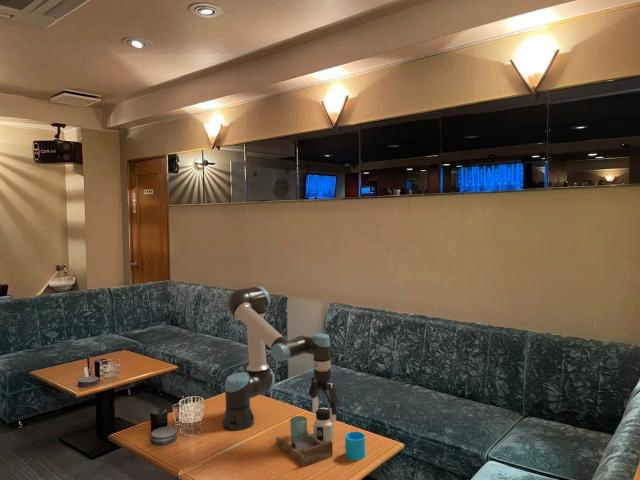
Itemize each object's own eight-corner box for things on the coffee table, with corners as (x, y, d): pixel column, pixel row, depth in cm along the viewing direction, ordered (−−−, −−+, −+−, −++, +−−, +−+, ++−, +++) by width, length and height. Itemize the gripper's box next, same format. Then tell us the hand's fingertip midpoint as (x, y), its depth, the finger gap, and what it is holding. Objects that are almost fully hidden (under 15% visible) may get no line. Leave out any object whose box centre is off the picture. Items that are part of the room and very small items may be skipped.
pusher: (294, 453, 192) (294, 434, 191) (313, 446, 197) (312, 428, 196) (296, 454, 191) (295, 435, 190) (314, 447, 196) (314, 429, 196)
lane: (276, 444, 200) (276, 430, 200) (302, 435, 208) (302, 422, 207) (305, 466, 181) (304, 451, 181) (332, 456, 189) (332, 441, 188)
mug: (364, 461, 184) (363, 441, 184) (344, 459, 186) (343, 439, 185) (367, 447, 196) (367, 428, 195) (348, 445, 197) (348, 426, 197)
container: (330, 443, 200) (330, 413, 200) (313, 441, 202) (312, 412, 201) (333, 435, 208) (333, 406, 207) (317, 433, 209) (316, 405, 209)
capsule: (288, 446, 198) (287, 418, 198) (301, 441, 202) (301, 414, 202) (296, 452, 192) (295, 424, 192) (310, 447, 196) (309, 419, 196)
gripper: (300, 364, 212) (301, 410, 212) (332, 377, 191) (333, 428, 192) (313, 361, 216) (315, 406, 217) (346, 373, 196) (347, 423, 196)
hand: (324, 416), depth 204 cm, fingers open, 13 cm apart
